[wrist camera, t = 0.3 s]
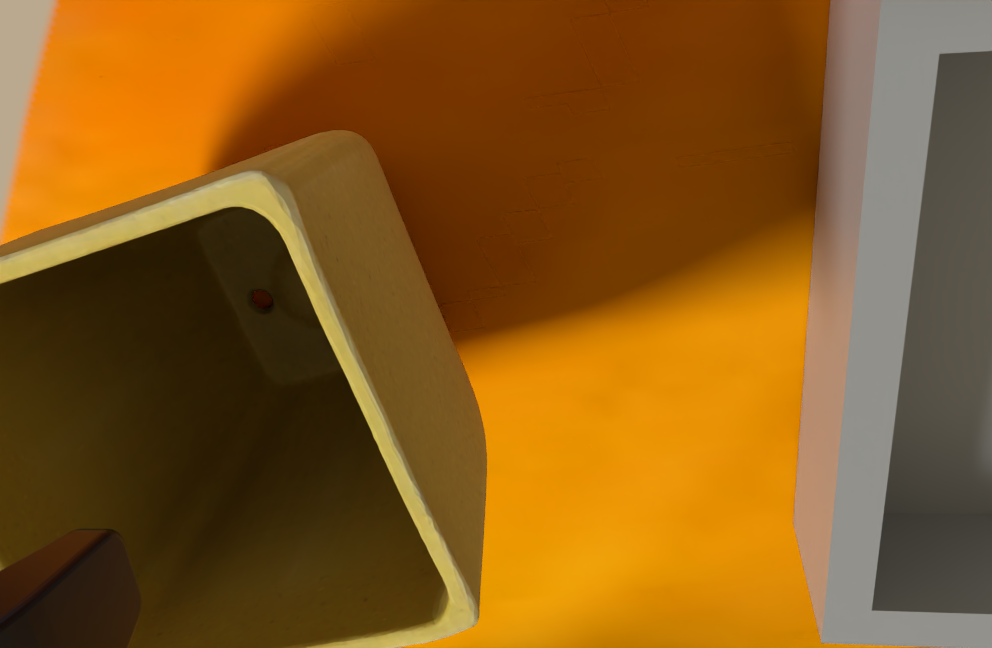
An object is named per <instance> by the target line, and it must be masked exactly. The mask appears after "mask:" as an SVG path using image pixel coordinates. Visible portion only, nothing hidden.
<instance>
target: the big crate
mask: <svg viewBox="0 0 992 648" xmlns="http://www.w3.org/2000/svg"><path fill="white" fill-rule="evenodd" d="M793 525H794V529H795V533H796V538H797V542H798V546H799V550H800V555H801V559H802V563H803V567H804V572H805V576H806V580H807V584H808V589H809V593H810V597H811V601H812V606H813V610H814V614H815V618H816V623H817V627H818V631H819V635H820V640H821V643H836V644H863V645H890V646H918V647H945V648H992V0H830V12H829V26H828V40H827V54H826V68H825V82H824V96H823V110H822V125H821V139H820V153H819V167H818V181H817V195H816V209H815V223H814V238H813V252H812V266H811V280H810V294H809V308H808V322H807V336H806V350H805V365H804V379H803V393H802V407H801V421H800V435H799V449H798V463H797V477H796V492H795V506H794V520H793Z"/></svg>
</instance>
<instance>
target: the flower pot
mask: <svg viewBox="0 0 992 648" xmlns="http://www.w3.org/2000/svg"><path fill="white" fill-rule="evenodd" d="M259 289H261V290H264V291H266V292H267V293H269V294H270V295H271V297H272V299H273V304H272V306H271V307H269V308H267V309H265V308H260V307H258V306H257V305H256V304H255V303H254V302H253V299H252V294H253V292H254V291H256V290H259ZM486 477H487V452H486V440H485V433H484V427H483V422H482V418H481V414H480V410H479V406H478V403H477V400H476V397H475V394H474V391H473V388H472V386H471V383H470V381H469V378H468V375H467V373H466V371H465V368H464V366H463V363H462V361H461V359H460V356H459V354H458V352H457V350H456V347H455V345H454V343H453V341H452V338H451V336H450V334H449V331H448V329H447V326H446V324H445V322H444V319H443V317H442V314H441V312H440V309H439V307H438V305H437V302H436V300H435V297H434V295H433V292H432V290H431V288H430V285H429V283H428V280H427V278H426V276H425V273H424V271H423V268H422V266H421V263H420V261H419V259H418V256H417V254H416V251H415V249H414V246H413V244H412V242H411V239H410V237H409V234H408V232H407V229H406V227H405V224H404V222H403V220H402V217H401V215H400V212H399V210H398V207H397V205H396V202H395V200H394V197H393V195H392V192H391V190H390V187H389V185H388V182H387V180H386V177H385V175H384V172H383V170H382V167H381V165H380V162H379V160H378V157H377V155H376V153H375V151H374V149H373V147H372V146H371V145H370V144H369V142H368V141H367V140H366V139H365V138H364V137H362V136H361V135H359V134H357V133H355V132H352V131H348V130H331V131H326V132H321V133H317V134H314V135H311V136H308V137H305V138H302V139H300V140H297V141H294V142H292V143H289V144H286V145H284V146H281V147H278V148H276V149H273V150H270V151H268V152H265V153H262V154H260V155H257V156H254V157H252V158H249V159H246V160H244V161H241V162H238V163H235V164H233V165H230V166H227V167H225V168H222V169H219V170H217V171H214V172H211V173H208V174H206V175H203V176H200V177H197V178H195V179H192V180H189V181H186V182H183V183H180V184H177V185H175V186H172V187H169V188H166V189H163V190H160V191H157V192H154V193H151V194H148V195H145V196H142V197H139V198H137V199H134V200H131V201H128V202H125V203H122V204H119V205H116V206H113V207H110V208H107V209H104V210H101V211H98V212H95V213H92V214H89V215H86V216H83V217H80V218H77V219H74V220H70V221H67V222H64V223H61V224H58V225H55V226H51V227H48V228H45V229H42V230H39V231H36V232H34V233H31V234H29V235H26V236H23V237H21V238H18V239H16V240H13V241H11V242H8V243H6V244H3V245H1V246H0V570H2V569H4V568H6V567H8V566H9V565H11V564H13V563H15V562H17V561H18V560H20V559H22V558H24V557H26V556H28V555H29V554H31V553H33V552H35V551H37V550H38V549H40V548H42V547H44V546H46V545H47V544H49V543H51V542H53V541H55V540H56V539H58V538H60V537H62V536H64V535H65V534H67V533H69V532H71V531H73V530H77V529H113V530H115V531H117V532H118V533H119V534H120V535H121V536H122V537H123V539H124V542H125V544H126V547H127V551H128V554H129V557H130V560H131V563H132V566H133V570H134V573H135V576H136V579H137V582H138V585H139V589H140V592H141V601H142V603H141V612H140V617H139V620H138V623H137V626H136V628H135V631H134V633H133V636H132V639H131V641H130V644H129V646H128V648H398V647H403V646H408V645H412V644H421V643H427V642H431V641H435V640H438V639H441V638H445V637H448V636H451V635H453V634H456V633H458V632H461V631H463V630H466V629H468V628H470V627H472V626H474V625H476V624H477V622H478V618H479V604H480V584H481V569H482V554H483V538H484V520H485V501H486Z"/></svg>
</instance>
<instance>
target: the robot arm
mask: <svg viewBox="0 0 992 648" xmlns="http://www.w3.org/2000/svg"><path fill="white" fill-rule="evenodd" d="M141 603H142V601H141V592H140V589H139V585H138V582H137V579H136V576H135V573H134V570H133V566H132V563H131V560H130V557H129V554H128V551H127V547H126V544H125V542H124V539H123V537H122V536H121V535H120V534H119V533H118V532H117V531H115V530H113V529H77V530H73V531H71V532H69V533H67V534H65V535H64V536H62V537H60V538H58V539H56V540H55V541H53V542H51V543H49V544H47V545H46V546H44V547H42V548H40V549H38V550H37V551H35V552H33V553H31V554H29V555H28V556H26V557H24V558H22V559H20V560H18V561H17V562H15V563H13V564H11V565H9V566H8V567H6V568H4V569H2V570H0V648H128V646H129V644H130V641H131V639H132V636H133V633H134V631H135V628H136V626H137V623H138V620H139V617H140V612H141Z"/></svg>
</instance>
